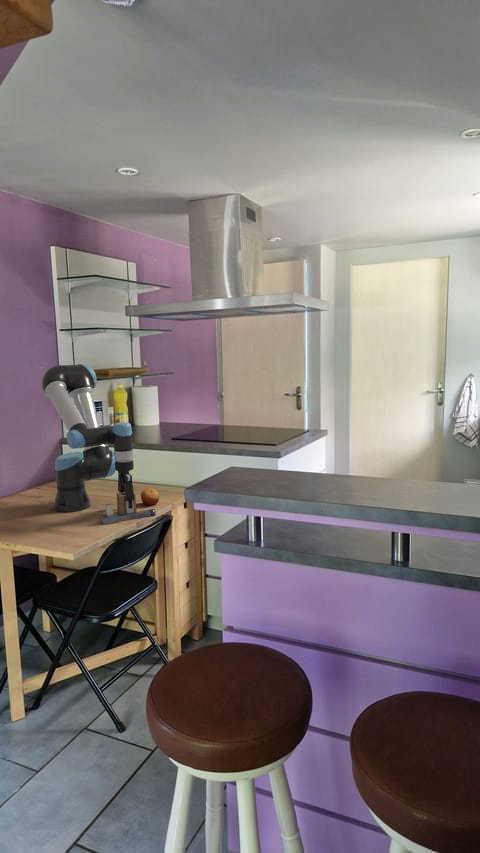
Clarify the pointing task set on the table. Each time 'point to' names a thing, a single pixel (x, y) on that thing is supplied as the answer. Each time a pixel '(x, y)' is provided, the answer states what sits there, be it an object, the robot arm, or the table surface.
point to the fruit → (149, 496)
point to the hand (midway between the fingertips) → (126, 512)
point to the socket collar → (123, 503)
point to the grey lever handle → (124, 515)
